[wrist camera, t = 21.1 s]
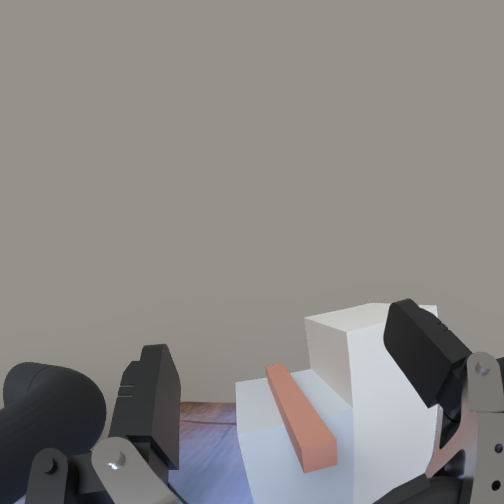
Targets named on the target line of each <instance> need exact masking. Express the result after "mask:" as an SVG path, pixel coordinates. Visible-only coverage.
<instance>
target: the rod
mask: <svg viewBox="0 0 504 504" xmlns="http://www.w3.org/2000/svg"><path fill="white" fill-rule="evenodd" d="M265 368H266V375H267V381H268V384H269V386H270V389H271V392H272V394H273V397H274V400H275V402H276V405H277V407H278V410H279V412H280V415H281V418H282V420H283V423H284V425H285V428H286V430H287V433H288V435H289V438H290V440H291V443H292V445H293V448H294V450H295V453H296V455H297V458H298V460H299V462H300V465H301V467H302V470H303V472H304V473H308V472H312V471H316V470H320V469H324V468H327V467H331V466H334V465H338V461H337V439H336V438H335V437H334V435H333V434H332V433H331V431H330V430H329V428H328V427H327V426H326V424H325V423H324V422H323V420H322V419H321V417H320V416H319V415H318V413H317V412H316V410H315V409H314V408H313V406H312V405H311V403H310V402H309V401H308V399H307V398H306V396H305V395H304V393H303V392H302V391H301V389H300V388H299V386H298V385H297V383H296V382H295V381H294V379H293V378H292V376H291V375H290V373H289V372H288V371H287V369H286V367H285V366H284V365H283V363H278V364H272V365H266V366H265Z"/></svg>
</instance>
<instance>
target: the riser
mask: <svg viewBox="0 0 504 504" xmlns="http://www.w3.org/2000/svg"><path fill="white" fill-rule="evenodd" d="M390 305H391V304H385V303H384V304H383V303H369V304H365V305H360V306H357V307H352V308H347V309H343V310H338V311H334V312H329V313H324V314H319V315H314V316H309V317H305V318H304V320H305V327H306V335H307V341H308V349H309V358H310V366H311V369H308V370H303V371H299V372H294V373H290V375H291V376H292V378H293V379H294V381H295V382H296V383H297V385H298V386H299V388H300V389H301V391H302V392H303V393H304V395H305V396H306V398H307V399H308V401H309V402H310V403H311V405H312V406H313V408H314V409H315V410H316V412H317V413H318V415H319V416H320V417H321V419H322V420H323V422H324V423H325V424H326V426H327V427H328V428H329V430H330V431H331V433H332V434H333V435H334V437H335V438H336V439H337V461H338V465H334V466H331V467H327V468H324V469H320V470H316V471H312V472H308V473H304V472H303V470H302V467H301V465H300V462H299V460H298V458H297V455H296V453H295V450H294V448H293V445H292V443H291V440H290V438H289V435H288V433H287V430H286V428H285V425H284V423H283V420H282V418H281V415H280V412H279V410H278V407H277V405H276V402H275V400H274V397H273V394H272V392H271V389H270V386H269V384H268V381H267V378H262V379H256V380H249V381H242V382H236V409H237V434H238V439H239V443H240V448H241V452H242V457H243V461H244V466H245V470H246V474H247V478H248V482H249V486H250V490H251V494H252V498H253V502H254V504H373V503H374V502H375V501H377V500H378V499H380V498H381V497H383V496H384V495H385V494H387V493H388V492H389V491H391V490H392V489H393V488H396V487H398V486H400V485H402V484H404V483H406V482H408V481H410V480H412V479H414V478H416V477H417V476H419V475H421V474H423V473H425V470H426V468H427V466H428V464H429V462H430V460H431V455H432V449H433V443H434V436H435V428H436V419H437V408H438V404H436V405H435V406H433V407H431V408H429V409H428V408H427V406H426V405H425V403H424V402H423V401H422V399H421V398H420V396H419V395H418V393H417V392H416V390H415V389H414V388H413V386H412V385H411V383H410V382H409V380H408V379H407V378H406V376H405V375H404V373H403V372H402V371H401V369H400V368H399V366H398V365H397V364H396V362H395V361H394V359H393V358H392V357H391V355H390V354H389V353H388V351H387V350H386V348H385V346H384V342H383V334H384V330H385V325H386V320H387V316H388V311H389V307H390ZM418 306H419V307H420V308H423V309H425V310H427V311H429V312H431V313H433V314H434V315H435V316H436V317H437V306H435V305H433V306H432V305H418ZM437 318H438V317H437Z"/></svg>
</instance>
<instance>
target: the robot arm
mask: <svg viewBox="0 0 504 504" xmlns="http://www.w3.org/2000/svg"><path fill="white" fill-rule="evenodd" d="M383 342H384V346H385V348H386V350H387V351H388V353H389V354H390V355H391V357H392V358H393V359H394V361H395V362H396V364H397V365H398V366H399V368H400V369H401V371H402V372H403V373H404V375H405V376H406V378H407V379H408V380H409V382H410V383H411V385H412V386H413V388H414V389H415V390H416V392H417V393H418V395H419V396H420V398H421V399H422V401H423V402H424V403H425V405H426V406H427V408H428V409H429V408H431V407H433V406H435V405H436V404H438V403H439V404H440V406H441V408H440V410H439V413H438V423H437V431H436V439H435V445H434V451H433V455H432V458H431V460H430V462H429V464H428V466H427V468H426V470H425V473H423V474H421V475H419V476H417V477H416V478H414V479H412V480H410V481H408V482H406V483H404V484H402V485H400V486H398V487H396V488H393V489H392V490H391V491H389V492H388V493H387V494H385V495H384V496H383V497H381V498H380V499H378V500H377V501H375V502H374V503H373V504H504V357H503V358H499V359H495V358H494V357H493V356H491V355H490V354H488V353H484V352H476V353H472V352H471V351H470V350H469V349H468V348H467V347H466V346H465V345H464V344H463V343H462V342H461V341H460V340H459V339H458V338H457V337H456V336H455V335H454V334H453V333H452V332H451V331H450V330H448V328H447V327H446V326H445V325H444V324H442V323H441V321H440V320H439V319H438V318H437V317H436V316H435V315H434V314H433V313H431V312H429V311H427V310H425V309H423V308H420V307H419V306H418V305H417V304H416V303H415V302H414V301H413V300H411V299H405V300H401V301H398V302H394V303H392V304H391V305H390V307H389V311H388V316H387V320H386V325H385V330H384V334H383ZM120 385H121V387H120V388H119V392H118V397H117V400H116V404H115V408H114V413H113V417H112V422H111V427H110V431H109V435H108V438H106V439H104V440H102V441H101V442H99V443H98V444H97V445H96V447H95V448H94V450H93V452H91V451H90V449H91V448H92V447H93V446H94V445H95V443H96V442H97V440H98V439H99V438H100V436H101V434H102V431H103V429H104V425H105V421H106V403H105V400H104V397H103V394H102V392H101V391H100V389H99V388H98V386H97V385H96V384H95V383H94V382H93V381H92V380H91V379H90V378H88V377H87V376H85V375H84V374H82V373H79V372H77V371H75V370H72V369H70V368H65V367H60V366H53V365H47V364H40V363H33V362H25V363H20V364H18V365H16V366H14V367H13V368H12V369H11V370H10V372H9V373H8V375H7V376H6V379H5V382H4V388H3V399H4V406H5V407H4V408H3V409H1V410H0V504H14V503H15V502H16V501H17V500H19V499H20V498H21V497H23V496H24V495H25V494H26V499H25V504H189V503H188V502H187V501H186V500H185V499H184V498H183V497H182V496H181V495H180V494H179V493H178V491H177V490H176V489H175V488H174V487H173V486H172V485H171V484H170V483H169V481H168V470H179V421H180V396H181V386H180V380H179V375H178V372H177V370H176V367H175V365H174V362H173V360H172V357H171V354H170V352H169V349H168V347H167V345H166V344H158V345H145V346H144V347H143V349H142V353H141V357H140V361H132V362H131V363H130V364H129V366H128V367H127V368H126V370H125V371H124V372H123V376H122V380H121V384H120Z"/></svg>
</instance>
